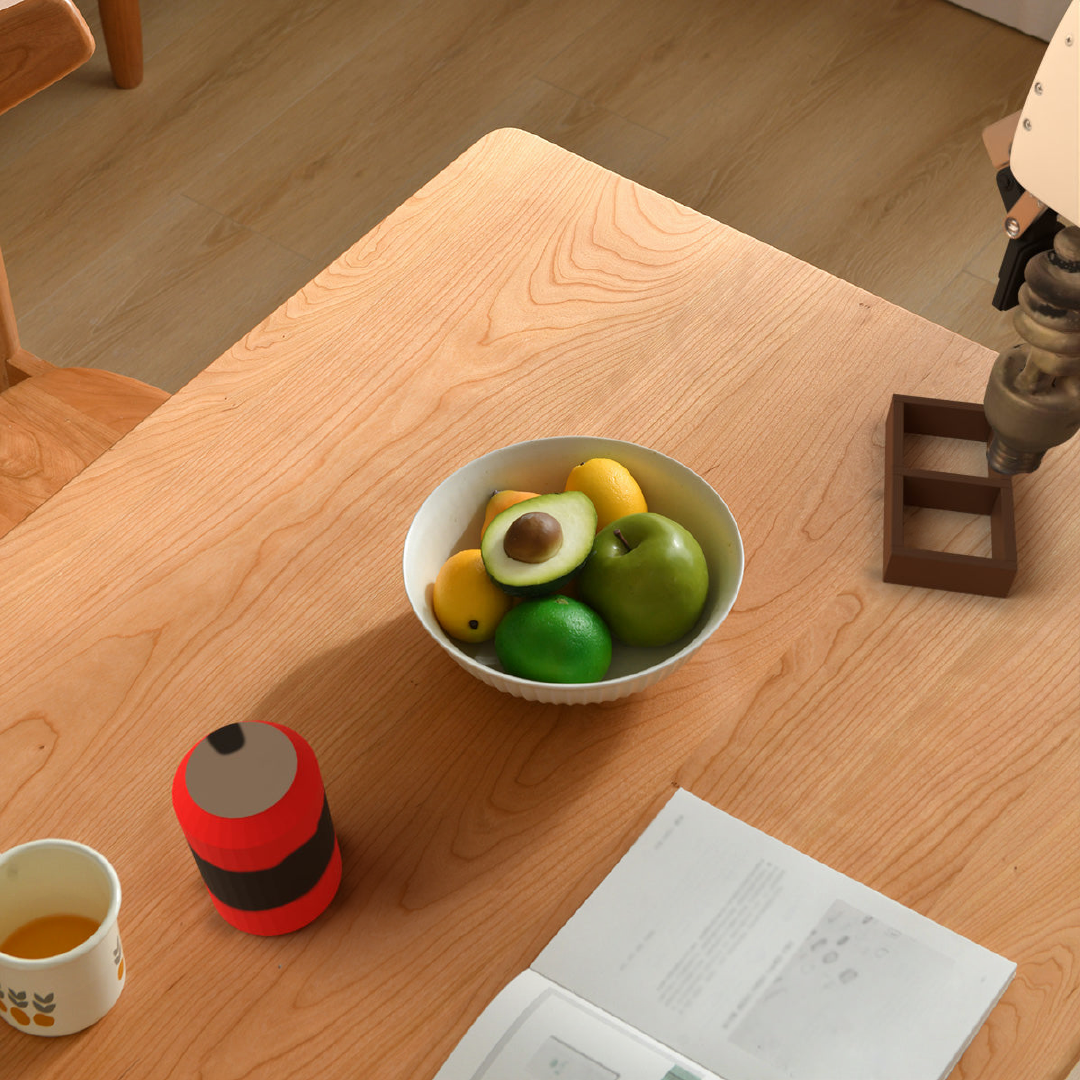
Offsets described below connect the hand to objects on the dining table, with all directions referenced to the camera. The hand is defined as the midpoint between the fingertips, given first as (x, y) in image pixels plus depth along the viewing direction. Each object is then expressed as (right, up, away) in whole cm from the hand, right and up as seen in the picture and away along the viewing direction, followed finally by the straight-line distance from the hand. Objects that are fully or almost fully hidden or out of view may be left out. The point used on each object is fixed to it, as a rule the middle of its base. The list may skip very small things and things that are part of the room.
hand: (1064, 331), depth 66 cm
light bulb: (0, -6, +8) cm, 10 cm away
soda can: (-41, -30, +12) cm, 52 cm away
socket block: (+3, -8, +30) cm, 31 cm away
